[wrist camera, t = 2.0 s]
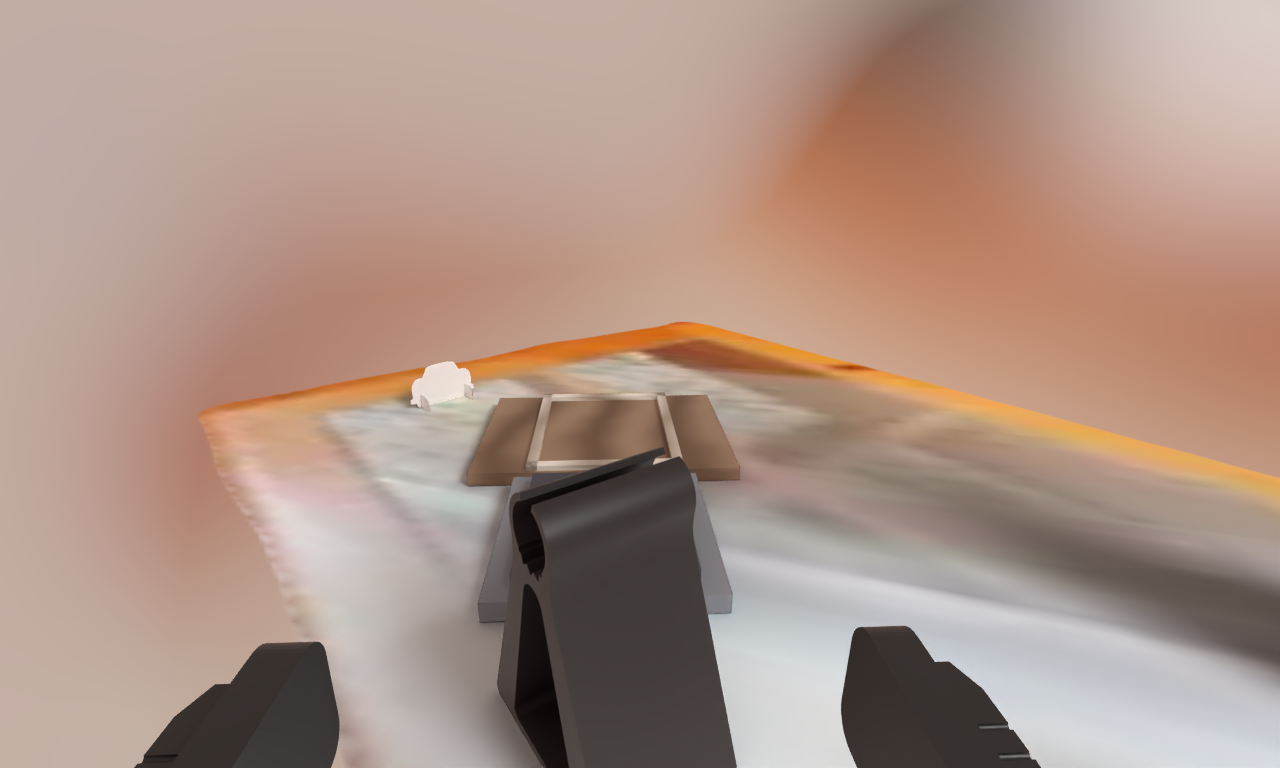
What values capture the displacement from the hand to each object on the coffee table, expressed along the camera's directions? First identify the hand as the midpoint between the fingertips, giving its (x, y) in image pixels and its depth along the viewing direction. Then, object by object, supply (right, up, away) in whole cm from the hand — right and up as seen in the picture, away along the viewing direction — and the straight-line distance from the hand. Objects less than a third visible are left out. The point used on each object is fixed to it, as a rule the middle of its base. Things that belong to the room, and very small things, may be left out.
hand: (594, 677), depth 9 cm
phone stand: (-1, -10, +16) cm, 19 cm away
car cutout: (-22, +1, +48) cm, 52 cm away
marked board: (-2, 0, +42) cm, 42 cm away
